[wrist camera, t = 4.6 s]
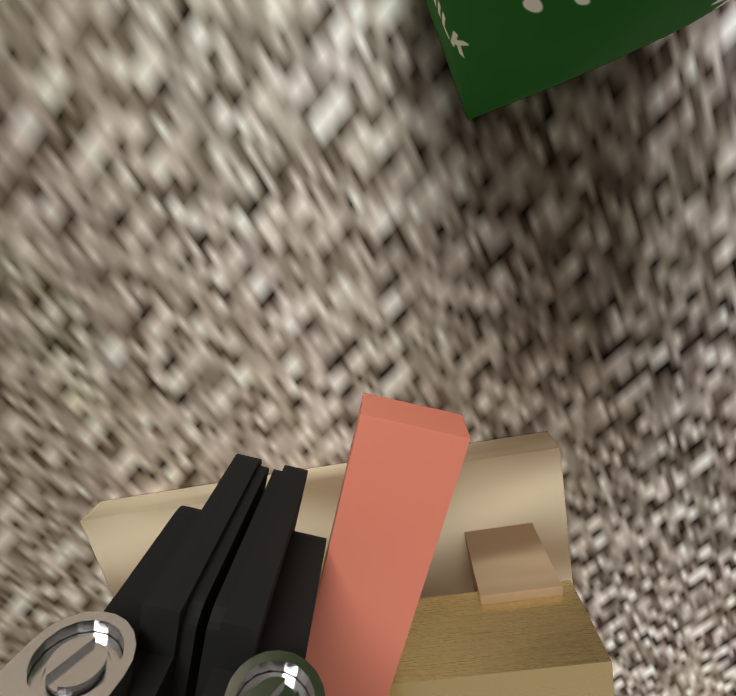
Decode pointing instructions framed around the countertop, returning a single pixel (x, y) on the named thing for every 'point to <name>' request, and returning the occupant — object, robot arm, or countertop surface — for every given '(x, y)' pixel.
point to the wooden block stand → (503, 648)
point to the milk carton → (545, 41)
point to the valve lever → (383, 541)
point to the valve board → (457, 538)
